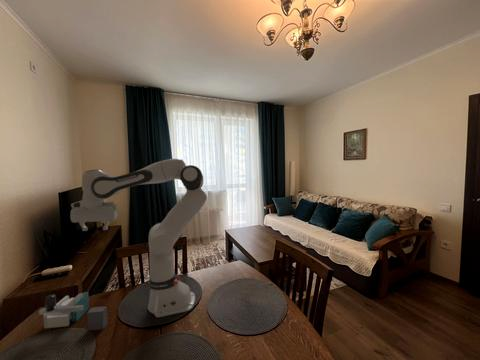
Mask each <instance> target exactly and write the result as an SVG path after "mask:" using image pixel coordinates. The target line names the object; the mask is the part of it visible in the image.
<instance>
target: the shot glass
mask: <svg viewBox="0 0 480 360" xmlns="http://www.w3.org/2000/svg"><path fill="white" fill-rule="evenodd" d="M75 297H76V296H75ZM75 297H74V296H73V297H69V299H67V300H65V301H63V302H62V303H60V305H59V307H63V306H66V305H67V304H68V303H69V302H70V301H71V300H73V299H74V298H75ZM61 314H62V315H66V314H69V321H71V320H72V316H71V312H64V313H61Z"/></svg>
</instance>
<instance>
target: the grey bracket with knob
mask: <svg viewBox="0 0 480 360" xmlns="http://www.w3.org/2000/svg"><path fill="white" fill-rule="evenodd" d="M44 300H45V301H44V302H45V307H42V308H40V309H39V310H38V315H44V314H52V313H64V312H71V316H72V319H71V323H73V322H78V320H80V319H81V317H82V316H83V315H84V314H85V313H87V312H88V311H89V310H90V299H89V291H84V292H80V293H78V294H77V295H76V296H75V298H74V299H73V300H71V301H70V302H69V303H68V304H67V305H66V306H63V307H56V304H57V298H56V294H55V293H54V294H53V293H52V294H49V295H47V296H45V298H44Z"/></svg>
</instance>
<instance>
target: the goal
mask: <svg viewBox="0 0 480 360" xmlns="http://www.w3.org/2000/svg"><path fill="white" fill-rule="evenodd" d="M69 298H70V295H65V296H64V297H63V298H62V299H60V300H59V301H58V302H56V307H59V305H60V303H62V302H63V301H65V300H67V299H69ZM42 315H43V328H44V329H51V328H52V329H53V328H61V327H69V325H70V323H71V320H69V314H66V315H62V314H61V313H52V314H42Z"/></svg>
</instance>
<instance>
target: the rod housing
mask: <svg viewBox="0 0 480 360" xmlns="http://www.w3.org/2000/svg"><path fill="white" fill-rule="evenodd" d="M107 308H108V307H107V306H94V307H91V308H89V309H88V310H87V311H86V315H87V317H86V318H87V329H88V331H89V332H90V331H98V330H104V329H105V328H106V326H107V325H108V323H109V321H108V309H107Z"/></svg>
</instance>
